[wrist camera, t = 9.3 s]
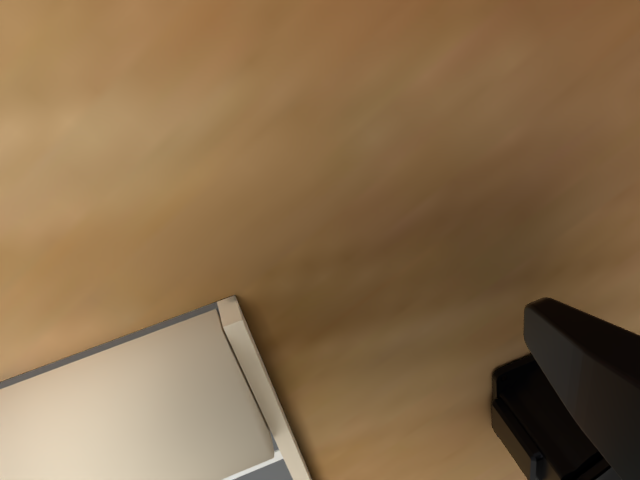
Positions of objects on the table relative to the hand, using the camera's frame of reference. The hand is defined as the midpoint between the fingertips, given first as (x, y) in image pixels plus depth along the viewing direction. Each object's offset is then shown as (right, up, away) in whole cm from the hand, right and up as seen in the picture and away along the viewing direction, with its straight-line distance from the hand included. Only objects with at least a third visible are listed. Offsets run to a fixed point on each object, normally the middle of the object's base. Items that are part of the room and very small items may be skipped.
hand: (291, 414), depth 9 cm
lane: (-7, -9, +24) cm, 26 cm away
